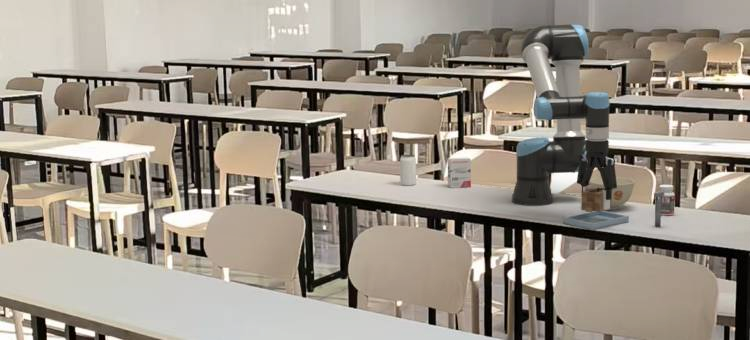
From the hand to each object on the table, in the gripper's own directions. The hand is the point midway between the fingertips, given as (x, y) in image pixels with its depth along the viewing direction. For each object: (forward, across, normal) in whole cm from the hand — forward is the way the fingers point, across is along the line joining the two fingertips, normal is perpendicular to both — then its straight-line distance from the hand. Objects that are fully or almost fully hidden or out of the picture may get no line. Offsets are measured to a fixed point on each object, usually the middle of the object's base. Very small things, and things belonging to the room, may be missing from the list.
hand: (596, 207), depth 338 cm
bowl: (+5, -12, +22) cm, 25 cm away
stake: (+5, +17, +11) cm, 21 cm away
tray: (+5, 0, 0) cm, 5 cm away
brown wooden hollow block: (0, 0, 0) cm, 0 cm away
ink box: (+5, -80, +10) cm, 81 cm away
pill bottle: (+6, +7, +28) cm, 29 cm away
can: (+5, -98, -2) cm, 98 cm away
